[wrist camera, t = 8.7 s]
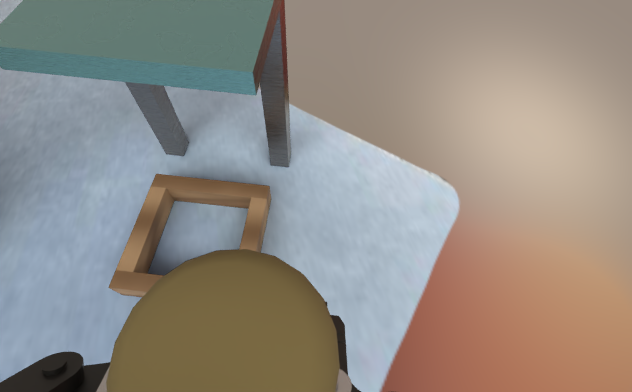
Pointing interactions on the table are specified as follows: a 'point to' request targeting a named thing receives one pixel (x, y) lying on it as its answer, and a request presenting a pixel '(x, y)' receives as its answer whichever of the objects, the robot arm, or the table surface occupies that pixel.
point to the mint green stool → (161, 53)
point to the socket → (155, 214)
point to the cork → (228, 330)
